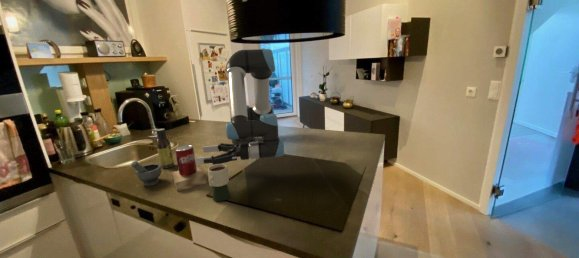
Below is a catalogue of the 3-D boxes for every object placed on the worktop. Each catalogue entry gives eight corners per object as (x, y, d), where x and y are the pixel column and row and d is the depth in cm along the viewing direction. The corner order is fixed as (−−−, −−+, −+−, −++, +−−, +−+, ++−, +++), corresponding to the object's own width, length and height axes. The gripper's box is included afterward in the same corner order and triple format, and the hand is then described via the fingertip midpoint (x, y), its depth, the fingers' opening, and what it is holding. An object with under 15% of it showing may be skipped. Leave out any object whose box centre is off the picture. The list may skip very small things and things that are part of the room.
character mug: (222, 190, 98) (218, 160, 94) (237, 192, 95) (233, 162, 92) (204, 204, 88) (199, 172, 84) (221, 207, 85) (216, 175, 82)
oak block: (200, 173, 114) (199, 165, 113) (206, 182, 104) (205, 174, 103) (173, 180, 108) (171, 172, 107) (177, 191, 98) (175, 182, 97)
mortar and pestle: (155, 175, 113) (150, 152, 110) (168, 179, 109) (162, 155, 106) (131, 186, 104) (124, 161, 101) (143, 191, 100) (137, 165, 96)
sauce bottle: (175, 166, 122) (168, 129, 117) (161, 170, 119) (153, 132, 114) (173, 162, 128) (166, 127, 122) (160, 166, 124) (152, 129, 119)
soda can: (176, 174, 105) (171, 148, 102) (192, 168, 110) (188, 143, 107) (184, 178, 100) (179, 152, 97) (200, 172, 105) (196, 147, 102)
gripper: (248, 170, 95) (193, 175, 93) (251, 149, 119) (207, 152, 116) (246, 153, 93) (190, 157, 91) (249, 134, 117) (205, 138, 114)
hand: (199, 154), depth 103 cm, fingers open, 13 cm apart
